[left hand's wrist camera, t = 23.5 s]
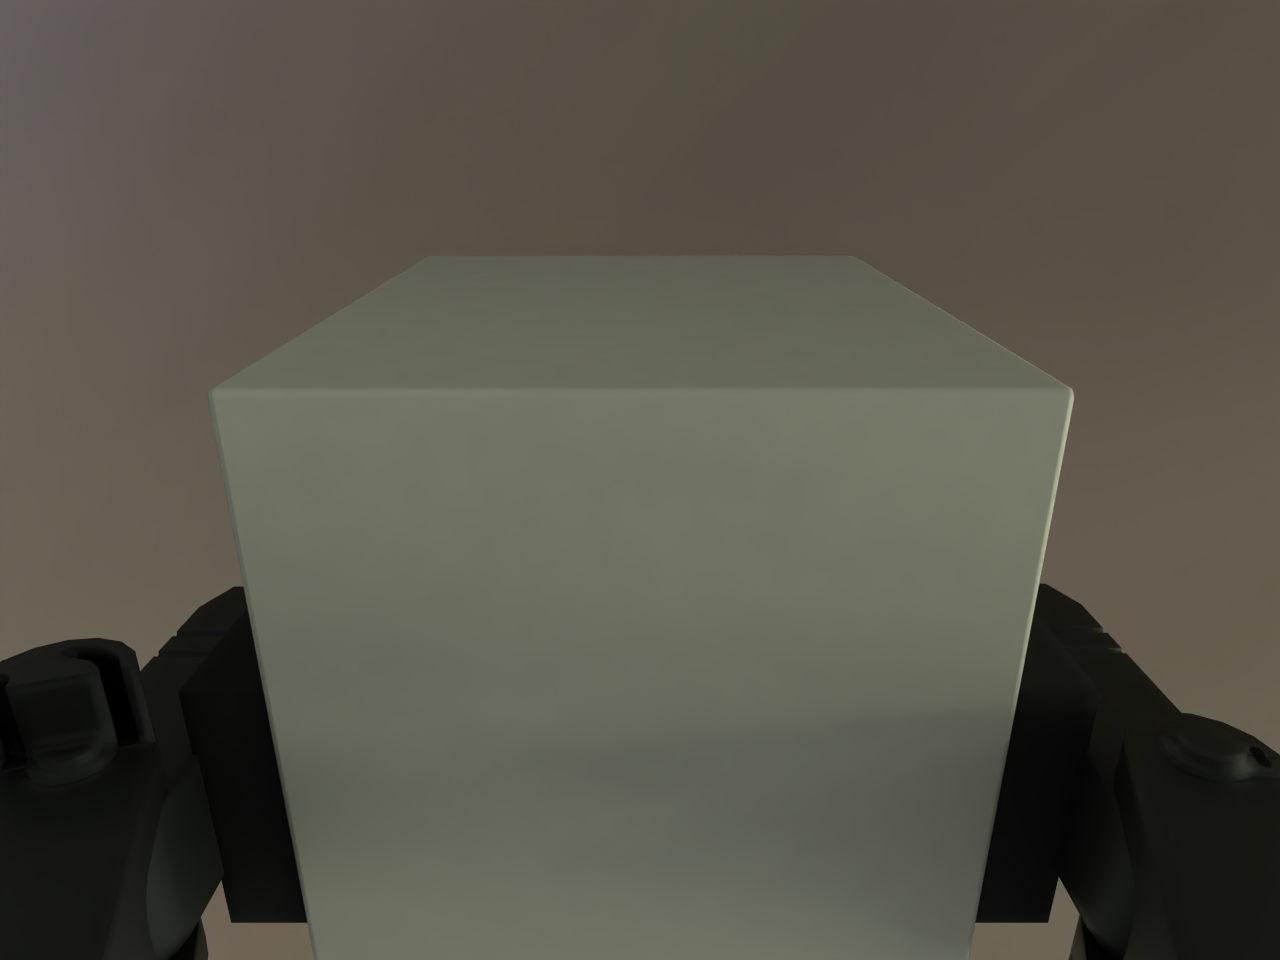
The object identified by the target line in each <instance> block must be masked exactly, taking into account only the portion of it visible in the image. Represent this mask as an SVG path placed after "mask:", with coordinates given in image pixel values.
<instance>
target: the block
mask: <svg viewBox="0 0 1280 960" xmlns="http://www.w3.org/2000/svg"><path fill="white" fill-rule="evenodd" d="M1073 401H1074V394H1073V390H1072V389H1071V388H1070V387H1068V386H1066V385H1065V384H1063V383H1061V382H1060V381H1058V380H1057V379H1055V378H1053V377H1052V376H1050V375H1048V374H1047V373H1045V372H1043V371H1042V370H1040V369H1039V368H1037V367H1035V366H1034V365H1032V364H1030V363H1029V362H1027V361H1025V360H1024V359H1022V358H1020V357H1019V356H1017V355H1016V354H1014V353H1012V352H1011V351H1009V350H1007V349H1006V348H1004V347H1002V346H1001V345H999V344H997V343H996V342H994V341H993V340H991V339H989V338H988V337H986V336H984V335H983V334H981V333H979V332H978V331H976V330H974V329H973V328H971V327H970V326H968V325H966V324H965V323H963V322H961V321H960V320H958V319H956V318H955V317H953V316H951V315H950V314H948V313H947V312H945V311H943V310H942V309H940V308H938V307H937V306H935V305H933V304H932V303H930V302H929V301H927V300H925V299H924V298H922V297H920V296H919V295H917V294H915V293H914V292H912V291H910V290H909V289H907V288H906V287H904V286H902V285H901V284H899V283H897V282H896V281H894V280H892V279H891V278H889V277H887V276H886V275H884V274H883V273H881V272H879V271H878V270H876V269H874V268H873V267H871V266H869V265H868V264H866V263H864V262H863V261H861V260H860V259H858V258H856V257H854V256H428V257H426V258H424V259H422V260H421V261H419V262H418V263H416V264H414V265H413V266H411V267H409V268H408V269H406V270H405V271H403V272H401V273H400V274H398V275H396V276H395V277H393V278H392V279H390V280H388V281H387V282H385V283H383V284H382V285H380V286H378V287H377V288H375V289H374V290H372V291H370V292H369V293H367V294H365V295H364V296H362V297H361V298H359V299H357V300H356V301H354V302H352V303H351V304H349V305H347V306H346V307H344V308H343V309H341V310H339V311H338V312H336V313H334V314H333V315H331V316H330V317H328V318H326V319H325V320H323V321H321V322H320V323H318V324H317V325H315V326H313V327H312V328H310V329H308V330H307V331H305V332H303V333H302V334H300V335H299V336H297V337H295V338H294V339H292V340H290V341H289V342H287V343H286V344H284V345H282V346H281V347H279V348H277V349H276V350H274V351H273V352H271V353H269V354H268V355H266V356H264V357H263V358H261V359H259V360H258V361H256V362H255V363H253V364H251V365H250V366H248V367H246V368H245V369H243V370H242V371H240V372H238V373H237V374H235V375H233V376H232V377H230V378H229V379H227V380H225V381H224V382H222V383H220V384H219V385H217V386H215V387H214V388H212V389H211V390H210V391H209V396H208V402H209V407H210V412H211V418H212V423H213V428H214V433H215V439H216V444H217V449H218V454H219V460H220V465H221V470H222V475H223V481H224V486H225V491H226V496H227V502H228V507H229V512H230V518H231V523H232V528H233V533H234V539H235V544H236V549H237V554H238V560H239V565H240V570H241V575H242V581H243V586H244V591H245V596H246V602H247V607H248V612H249V617H250V623H251V628H252V633H253V638H254V644H255V649H256V654H257V659H258V665H259V670H260V675H261V680H262V686H263V691H264V696H265V702H266V707H267V712H268V717H269V723H270V728H271V733H272V738H273V744H274V749H275V754H276V759H277V765H278V770H279V775H280V780H281V786H282V791H283V796H284V801H285V807H286V812H287V817H288V822H289V828H290V833H291V838H292V843H293V849H294V854H295V859H296V865H297V870H298V875H299V880H300V886H301V891H302V896H303V901H304V907H305V912H306V917H307V922H308V928H309V933H310V938H311V943H312V949H313V954H314V959H315V960H968V958H969V953H970V948H971V942H972V937H973V932H974V926H975V921H976V916H977V910H978V905H979V900H980V895H981V889H982V884H983V879H984V873H985V868H986V863H987V857H988V852H989V847H990V841H991V836H992V831H993V826H994V820H995V815H996V810H997V804H998V799H999V794H1000V788H1001V783H1002V778H1003V773H1004V767H1005V762H1006V757H1007V751H1008V746H1009V741H1010V735H1011V730H1012V725H1013V720H1014V714H1015V709H1016V704H1017V698H1018V693H1019V688H1020V682H1021V677H1022V672H1023V667H1024V661H1025V656H1026V651H1027V645H1028V640H1029V635H1030V629H1031V624H1032V619H1033V614H1034V608H1035V603H1036V598H1037V592H1038V587H1039V582H1040V576H1041V571H1042V566H1043V560H1044V555H1045V550H1046V545H1047V539H1048V534H1049V529H1050V523H1051V518H1052V513H1053V507H1054V502H1055V497H1056V492H1057V486H1058V481H1059V476H1060V470H1061V465H1062V460H1063V454H1064V449H1065V444H1066V439H1067V433H1068V428H1069V423H1070V417H1071V412H1072V407H1073Z"/></svg>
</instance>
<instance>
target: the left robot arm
mask: <svg viewBox="0 0 1280 960" xmlns="http://www.w3.org/2000/svg"><path fill="white" fill-rule="evenodd" d="M1058 877H1059V878H1060V879H1061V881H1062V883H1063V885H1064V887H1065V888H1066V890H1067V892H1068V894H1069V896H1070V897H1071V899H1072V901H1073V903H1074V905H1075V906H1076V908H1077V910H1078V912H1079V913H1080V916H1079V920H1078V924H1077V928H1076V932H1075V936H1074V940H1073V944H1072V948H1071V952H1070V956H1069V960H1280V755H1279V754H1278V753H1276V752H1275V751H1274V750H1272V749H1271V748H1269V747H1268V746H1266V745H1265V744H1264V743H1262V742H1261V741H1259V740H1258V739H1257V738H1255V737H1254V736H1252V735H1250V734H1247V733H1245V732H1243V731H1241V730H1239V729H1236V728H1234V727H1232V726H1230V725H1228V724H1226V723H1223V722H1220V721H1216V720H1213V719H1209V718H1205V717H1201V716H1198V715H1194V714H1188V713H1181V712H1180V711H1179V710H1178V709H1177V708H1176V707H1175V706H1174V705H1173V703H1172V702H1171V701H1170V700H1169V699H1168V698H1167V697H1166V696H1165V695H1164V694H1163V693H1162V692H1161V690H1160V689H1159V688H1158V687H1157V686H1156V685H1155V684H1154V683H1153V682H1152V681H1151V680H1150V679H1149V677H1148V676H1147V675H1146V674H1145V673H1144V672H1143V671H1142V670H1141V669H1140V668H1139V667H1138V666H1137V664H1136V663H1135V662H1134V661H1133V660H1132V659H1131V658H1130V657H1129V656H1128V655H1127V654H1126V653H1122V651H1121V647H1120V646H1119V645H1118V644H1117V643H1116V642H1115V641H1114V640H1113V638H1112V637H1111V636H1110V635H1109V634H1108V633H1103V628H1102V627H1101V625H1100V624H1099V623H1098V622H1097V621H1096V620H1095V619H1094V618H1093V617H1092V616H1091V615H1090V614H1089V612H1088V611H1087V610H1086V609H1085V608H1084V607H1083V606H1082V605H1081V604H1080V603H1078V602H1076V601H1074V600H1073V599H1071V598H1069V597H1068V596H1066V595H1064V594H1062V593H1061V592H1059V591H1057V590H1056V589H1054V588H1052V587H1050V586H1049V585H1047V584H1039V587H1038V592H1037V598H1036V603H1035V608H1034V614H1033V619H1032V624H1031V629H1030V635H1029V640H1028V645H1027V651H1026V656H1025V661H1024V667H1023V672H1022V677H1021V682H1020V688H1019V693H1018V698H1017V704H1016V709H1015V714H1014V720H1013V725H1012V730H1011V735H1010V741H1009V746H1008V751H1007V757H1006V762H1005V767H1004V773H1003V778H1002V783H1001V788H1000V794H999V799H998V804H997V810H996V815H995V820H994V826H993V831H992V836H991V841H990V847H989V852H988V857H987V863H986V868H985V873H984V879H983V884H982V889H981V895H980V900H979V905H978V910H977V916H976V921H975V923H1048V920H1049V916H1050V912H1051V907H1052V903H1053V899H1054V895H1055V890H1056V886H1057V881H1058ZM221 880H222V884H223V889H224V893H225V897H226V902H227V906H228V910H229V914H230V919H231V923H308V922H307V917H306V912H305V907H304V901H303V896H302V891H301V886H300V880H299V875H298V870H297V865H296V859H295V854H294V849H293V843H292V838H291V833H290V828H289V822H288V817H287V812H286V807H285V801H284V796H283V791H282V786H281V780H280V775H279V770H278V765H277V759H276V754H275V749H274V744H273V738H272V733H271V728H270V723H269V717H268V712H267V707H266V702H265V696H264V691H263V686H262V680H261V675H260V670H259V665H258V659H257V654H256V649H255V644H254V638H253V633H252V628H251V623H250V617H249V612H248V607H247V602H246V596H245V591H244V587H233V588H231V589H229V590H228V591H226V592H224V593H223V594H221V595H219V596H218V597H216V598H214V599H212V600H211V601H209V602H207V603H206V604H204V605H202V606H200V607H199V608H198V609H197V610H196V611H195V612H194V613H193V614H192V616H191V617H190V618H189V619H188V620H187V621H186V622H185V623H184V624H183V625H182V626H181V628H180V629H179V630H178V631H177V636H172V637H171V638H170V640H169V641H168V642H167V643H166V644H165V645H164V646H163V647H162V648H161V649H160V650H159V655H158V657H153V658H152V659H151V660H150V661H149V662H148V664H147V665H146V666H145V667H144V668H143V669H142V670H141V671H140V669H139V665H138V661H137V657H136V653H135V651H134V650H133V649H131V648H130V647H128V646H127V645H126V644H124V643H123V642H120V641H114V640H108V639H102V638H90V639H76V640H66V641H62V642H58V643H54V644H49V645H45V646H41V647H36V648H33V649H31V650H28V651H26V652H23V653H21V654H18V655H16V656H13V657H11V658H8V659H5V660H3V661H1V662H0V960H208V949H207V942H206V936H205V932H204V928H203V924H202V920H201V915H202V914H203V912H204V910H205V908H206V906H207V905H208V903H209V901H210V899H211V897H212V896H213V894H214V892H215V890H216V888H217V887H218V885H219V883H220V881H221Z"/></svg>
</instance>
